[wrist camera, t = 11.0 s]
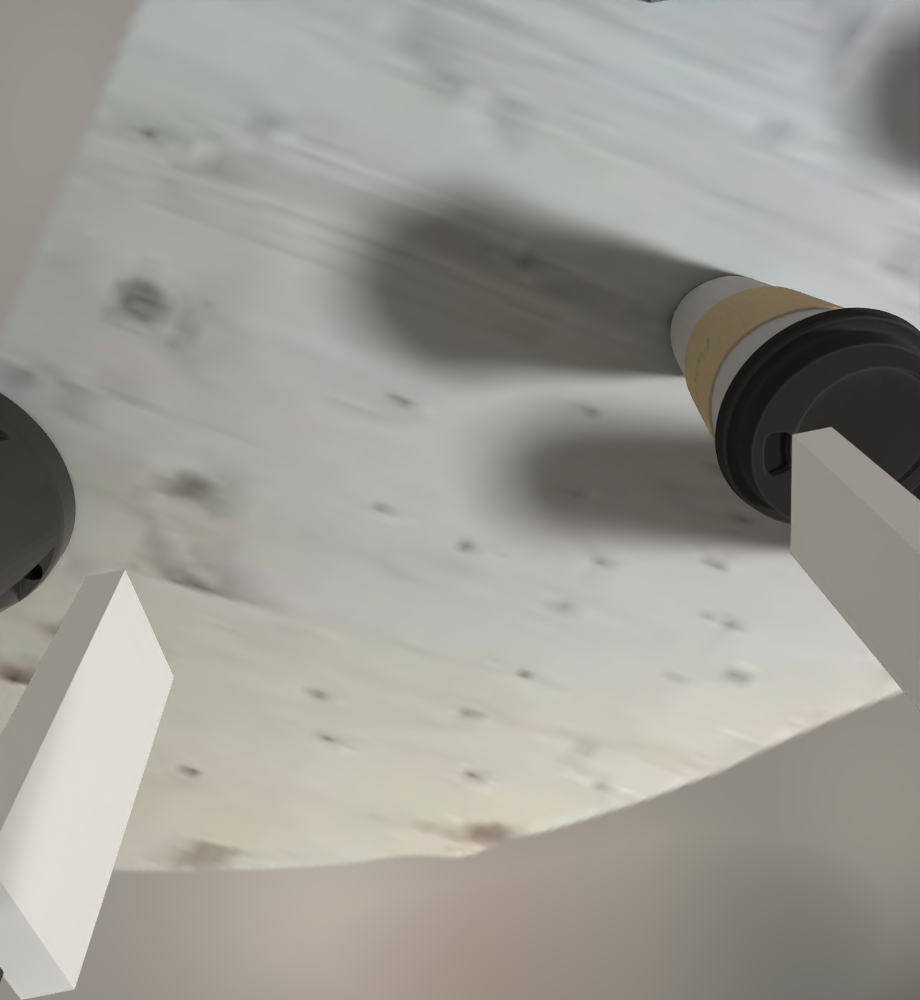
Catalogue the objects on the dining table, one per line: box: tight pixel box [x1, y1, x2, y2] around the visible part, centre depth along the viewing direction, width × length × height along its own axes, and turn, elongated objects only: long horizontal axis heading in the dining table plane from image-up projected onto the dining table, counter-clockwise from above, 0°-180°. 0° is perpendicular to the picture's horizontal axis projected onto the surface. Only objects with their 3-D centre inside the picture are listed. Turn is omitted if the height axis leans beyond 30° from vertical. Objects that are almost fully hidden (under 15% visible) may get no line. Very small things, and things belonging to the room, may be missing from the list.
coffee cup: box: [670, 276, 920, 524], centre depth 40 cm, size 9×9×15 cm
